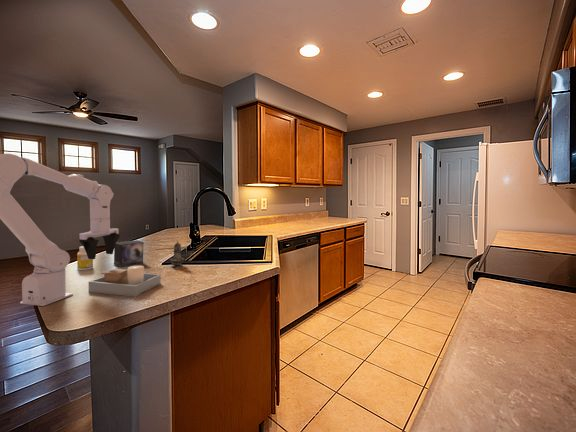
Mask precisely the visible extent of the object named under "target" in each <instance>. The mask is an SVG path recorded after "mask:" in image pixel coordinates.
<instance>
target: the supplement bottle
mask: <svg viewBox="0 0 576 432" xmlns="http://www.w3.org/2000/svg"><path fill="white" fill-rule="evenodd" d="M78 249H79V251H78V252H77V254H76V255H77V258H76V259H77V262H76V263H77V267H76V268H77V270H79V271H87V270H92V269H93V268H94V259H88V256H87V253H86V251H85V249H84V247H83V245H81V246H79V248H78Z"/></svg>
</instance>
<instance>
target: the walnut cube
mask: <svg viewBox="0 0 576 432" xmlns="http://www.w3.org/2000/svg"><path fill="white" fill-rule="evenodd" d="M104 282H105V283H115V284H128V269H122V268H115V269H110V270H108V271H105V272H104Z"/></svg>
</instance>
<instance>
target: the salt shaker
mask: <svg viewBox="0 0 576 432" xmlns="http://www.w3.org/2000/svg"><path fill="white" fill-rule="evenodd" d="M181 246H182V245H181V243H179V241H176V243H174V245H173V252H172V253H173V257H172V258H170V259H169V260H170V262H171V264H172V265H171V266H170V268H172V269H181V267H182V268H183V267H184V265H183V262H184V261H185V258H183V257H182V247H181Z"/></svg>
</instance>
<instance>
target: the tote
mask: <svg viewBox="0 0 576 432" xmlns="http://www.w3.org/2000/svg"><path fill="white" fill-rule="evenodd" d="M161 278H162V277H161V274H157V273H156V274H155V273H146V272H144V282H142V283H140V284H137V285H128V284H115V283H105V282H104V276H101V277H98V278H95V279H92V280H90V281H88V292H89V293H96V294H105V295H106V294H107V295H117V296H123V297H124V296H127V297H136V298H137V297H138V296H140V295H142V294H144V293H146V292H148V291H149V290H151V289H153V288H155V287H157V286H160V285H161Z"/></svg>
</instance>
